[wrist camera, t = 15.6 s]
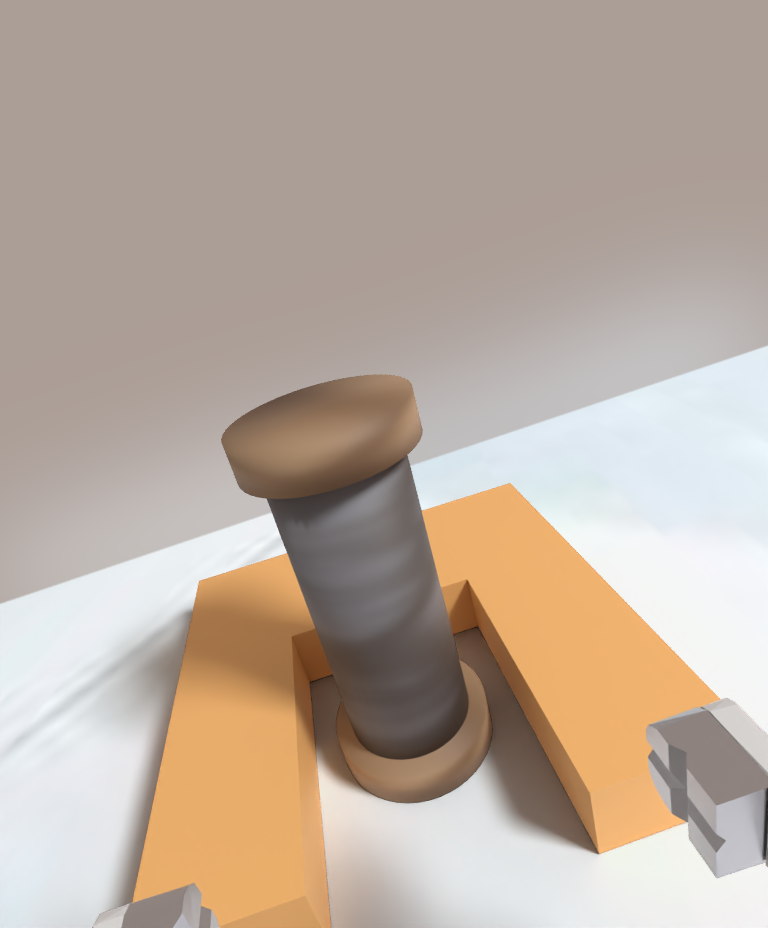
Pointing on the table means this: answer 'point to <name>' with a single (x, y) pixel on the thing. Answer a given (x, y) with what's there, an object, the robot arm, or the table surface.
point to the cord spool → (368, 578)
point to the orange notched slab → (303, 660)
